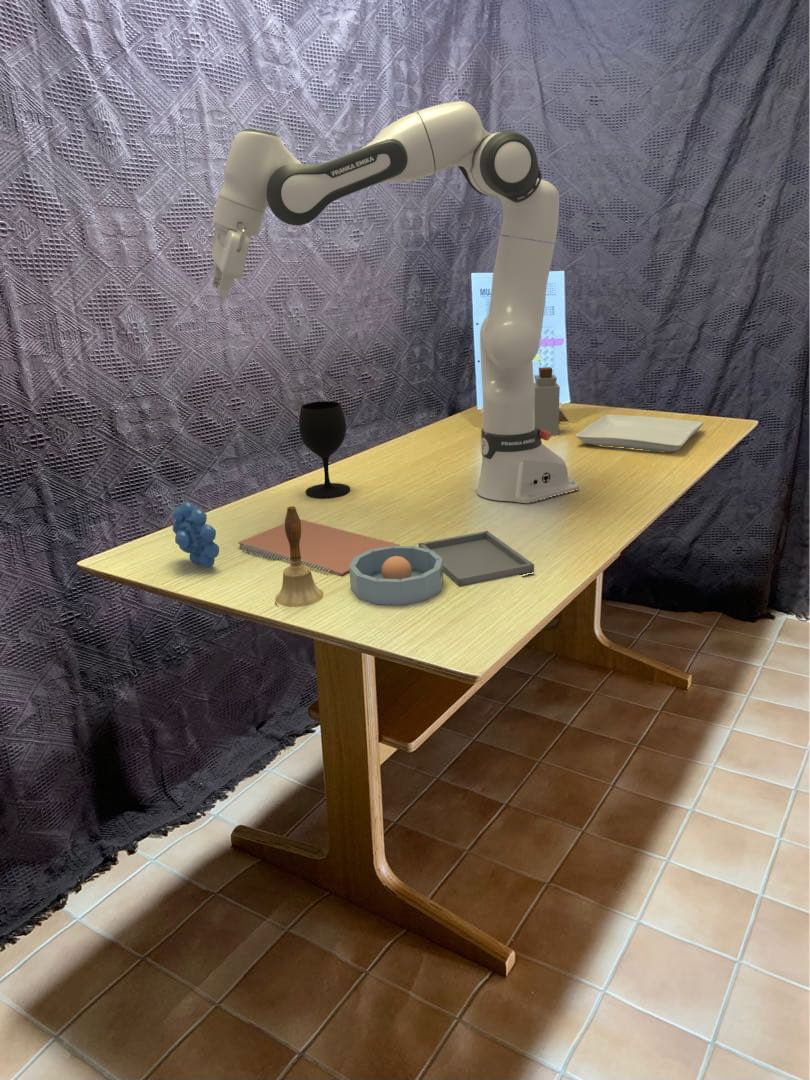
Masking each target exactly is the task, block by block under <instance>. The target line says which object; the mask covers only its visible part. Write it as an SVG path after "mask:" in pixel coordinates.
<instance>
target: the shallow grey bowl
mask: <svg viewBox="0 0 810 1080" xmlns="http://www.w3.org/2000/svg"><path fill="white" fill-rule="evenodd" d="M393 556H400V557H403V558H405V559H406V560H407V561H408V562H409V563H410V565H411V569H412V573H411V577H409V578H404V579H383V576H382V566H383V564H384V562H385V561H386V560H387V559H388V558H390V557H393ZM349 581H350V583H349V584H350V589H351V591H352V592H353V594H354V595H355V596H356V598H357V599H359V600H363V601H365V602H369V603H371V604H376V605H387V606H404V605H408V604H409V605H410V604H414V603H419V602H423V601H426V600H428V599H430V598H432V597H434V596H435V595H436V594H438V593H440V592H441V591H442V588H443V584H444V572H443V559H442V558H441V557H440V556H439V555H438V554H436V553H435V552H434V551H432V550H428V549H424V548H420V547H419V546H415V545H400V546H388V547H382V548H377V549H371V550H368V551H366V552H364V553H362V554H360V555H358V556H356V557H354V559H353V561H352V562H351V564H350V566H349Z"/></svg>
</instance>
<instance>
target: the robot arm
mask: <svg viewBox="0 0 810 1080" xmlns="http://www.w3.org/2000/svg"><path fill="white" fill-rule="evenodd" d="M232 141H233V142H232V143H231V146H230V148H229V152H228V155H227V159H226V162H225V167H224V170H223V177H224V178H223V184H222V187H221V189H220V190H219V192H218V196H217V198H216V203H215V207H214V211H213V215H212V218H211V220H212V222H213V223H215V228H214V232H213V233H214V234H213V239H212V245H211V258H212V259H213V261H214V263H215V264H214V268H213V269H214V270H213V271H214V272H213V278H212V282H211V284H212V287H213V288H215V289H218V290H217V295H218V297H220V298H222V299H227V298H228V296H229V293H230V290H231V288H232V285H233V284H234V282H235V281H234V280H235V279H238V280H239V279H241V278H242V277H243V274H244V270H245V267H246V266H245V265H246V261H247V258H248V253H249V248H250V241H251V238H252V237H254V238H255V237H256V238H257V237H259V236H260V231H261V228H262V223H263V219H264V216H265V212H266V209H267V208H268V207H269V209H270V211H271V212H272V214H273V215H274V216H275V217H276V218H277V219H278V220H279V221H281V222H283V223H284V224H287V225H290V226H303V225H306V224H309V223H310V222H312V221H313V220H315V219H316V218H317V217H319V216H320V215H321V213H322V212H323V211H324V210H325V209H326V208H327V206H329V205H330V204H331V203H333V202H335V201H337V200H339V199H341V198H344V197H346V196H349V195H351V194H354V193H357V192H359V191H362V190H364V189H367V188H369V187H372V186H375V185H379V184H385V183H386V184H387V183H403V182H410V181H414V180H419V179H422V178H426V177H428V176H431V175H433V174H436V173H439V172H441V171H445V170H446V169H447V170H448V169H449V168H455V167H458V168H459V170H460V172H461V173H462V174H463V177H464V178H465V180H466V182H467V183H468V184H469V186H470V187H471V188H472V189H473V190H474V191H475V192H477V193H478V194H480V195H483V196H488V197H495V198H497V197H498V198H499V200H500V201H501V202H500V203H501V205H502V211H503V213H502V217H503V219H502V222H501V223H502V224H501V229H500V233H499V234H500V235H499V238H498V239H499V240H498V245H497V250H496V256H495V261H494V268H493V271H492V272H493V274H492V280H491V281H492V282H491V283H492V284H491V292H490V302H489V309H488V315H487V316H486V317H485V318H484V320H483V322H482V323H481V327H480V329H479V330H480V331H479V344H480V345H479V346H480V347H479V349H480V367H481V368H480V369H481V370H480V371H481V384H482V385H481V386H482V428H481V431H480V432H481V433H480V448H481V449H480V451H481V455H482V459H481V467H480V474H479V480H478V484H477V488H476V491H475V492H476V493H477V495H478V496H480V497H482V498H484V499H488V500H491V501H501V502H503V501H504V502H516V503H522V504H531V503H530V502H532V503H535V502H534V501H536V502H538V501H537V500H540V499H543V500H545V499H544V498H547V499H549V498H548V497H550V496H554V495H558V494H561V493H565V492H569V491H572V490H576V489H578V490H579V484H578V482H577V481H576V480H575V479H573V478H572V477H569V474H568V468H567V465H566V462H565V460H564V459H563V458H562V457H561V456H559V455H558V454H556V452H554V451H552V450H551V449H550V448H548V447H547V446H546V445H544V444H543V442H542V440H544V441H549V440H550V439H551V438H552V436H551V435H550V434H551V433H549V431H546V430H542V431H541V430H540V429H538V428H536V427H535V388H534V383H535V377H534V368H533V367H534V366H533V365H534V364H533V363H534V362H533V361H534V359H535V357H536V356H537V354H538V353H539V349H540V344H541V337H542V329H543V322H544V316H545V315H544V314H545V306H546V294H547V287H548V279H549V275H550V271H551V270H550V269H551V265H552V260H553V256H554V251H555V250H554V249H555V247H556V246H555V245H556V241H557V240H556V239H557V233H558V225H559V217H560V216H559V215H560V194H559V191H558V189H557V188H556V186H555V185H553V184H552V183H551V182H550V181H547V180H546V179H543V177H542V172H541V170H540V169H541V168H540V165H539V162H538V161H539V160H538V157H537V152H536V150H535V147H534V145H533V143H532V142H531V141H530V139H528V138H527V137H526V136H525V135H524V134H522V133H520V132H517V131H513V130H506V131H498V132H494V133H490V132H488V131H487V130H486V129H485V128H484V126H483V123H482V120H481V117H480V115H479V113H478V111H477V109H475V107H474V106H473V105H472V104H471V103H469V102H467V101H463V100H460V101H458V100H457V101H451V102H445V103H441V104H437V105H432V106H429V107H426V108H423V109H421V110H420V109H419V110H417V111H415V112H412V113H409V114H407V115H405V116H403V117H401V118H399V119H397V120H395V121H393V122H392V123H390V124H388V125H387V126H385V127H383V129H381V131H380V132H379V133H378V134H377V135H376V136H375V138H374V139H373V140H371V141H370V142H368V144H366V145H365V146H363V147H362V148H359V149H357V150H354V151H352V152H350V153H347V154H344V155H342V156H338V157H337V158H334V159H332V160H329V161H326V162H323V163H318V164H304V163H302V162H301V161H300V160H298V158H297V157H295V155H293V154H292V153H291V151H290V150H289V149H288V148H287V147H286V146H285V144H284V143H283V142H282V140H281V138H280V136H279V135H277V134H276V133H274V132H270V131H265V130H260V129H254V128H245V129H242V130H240V131H239V132H237V134H236V135H235V137H234V138H233V140H232ZM558 496H559V495H558ZM540 501H541V500H540Z"/></svg>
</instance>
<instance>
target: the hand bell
mask: <svg viewBox="0 0 810 1080" xmlns="http://www.w3.org/2000/svg"><path fill="white" fill-rule="evenodd" d="M297 511H298V510H297V508H296V507H295V506H288V507H287V508H286V514H285V518H284V523H285V532H286V536H287V539H288V541H289V545H290V556H291V557H290V559H291V564H289V566H287V567H286V568H284V569H283V572H282V585H281V589H280V590H279V593H278V594H276V596H275V599H274V600H275V603H274V605H275V604H276V605H279V606H283V607H288V608H301V607H302V608H303V607H307V606H308V607H309V606H311V605H313V604H316V603H318V602H320V601H321V600H322V599H323V598H324V595H325V593H324V592H323V590H322V589H320V588H319V587H318V586H317V584H316V583H315V581H314V578H313V575H312V569H310V567H308V566H306V565H302V564H301V556H300V547H299V543H300V538H301V522H300V519H301V518H300V516H299V514H298V512H297ZM276 605H275V606H276Z"/></svg>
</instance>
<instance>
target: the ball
mask: <svg viewBox="0 0 810 1080" xmlns="http://www.w3.org/2000/svg"><path fill="white" fill-rule="evenodd" d="M411 573H412V569H411V565H410V563H409V562H408V561H407V560H406V559H405V558H403V557H400V556H393V557H390V558H388V559H387V560H386V561H385V562H384V564H383V566H382V576H383V579H404V578H409V577H411Z"/></svg>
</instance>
